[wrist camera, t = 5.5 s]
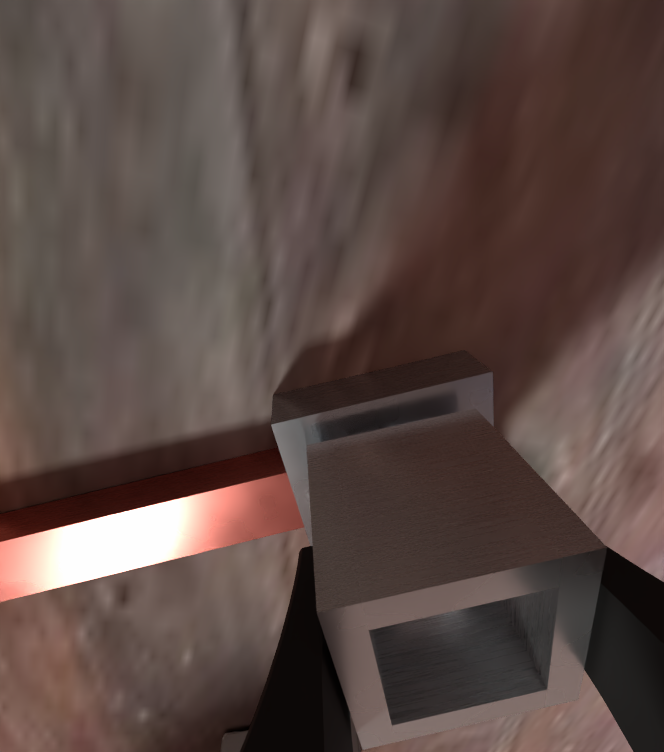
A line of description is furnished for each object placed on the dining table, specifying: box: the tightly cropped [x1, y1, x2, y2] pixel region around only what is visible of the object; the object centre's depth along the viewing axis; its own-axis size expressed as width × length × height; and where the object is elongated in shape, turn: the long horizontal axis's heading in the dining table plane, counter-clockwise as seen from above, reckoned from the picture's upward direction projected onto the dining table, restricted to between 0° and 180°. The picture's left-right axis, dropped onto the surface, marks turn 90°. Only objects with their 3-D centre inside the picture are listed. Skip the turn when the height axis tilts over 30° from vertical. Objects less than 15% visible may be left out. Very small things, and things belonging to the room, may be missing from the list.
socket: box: [306, 408, 607, 750], centre depth 10 cm, size 5×5×5 cm
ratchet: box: [0, 350, 494, 602], centre depth 12 cm, size 19×7×4 cm, turn 101°
